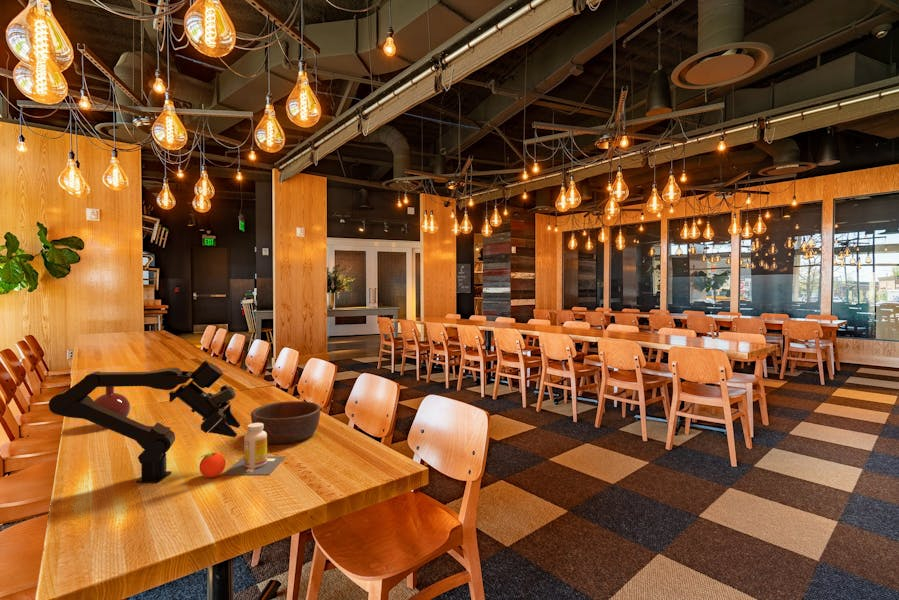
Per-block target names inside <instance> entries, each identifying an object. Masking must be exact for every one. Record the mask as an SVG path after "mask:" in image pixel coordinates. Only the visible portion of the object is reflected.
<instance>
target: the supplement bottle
mask: <svg viewBox="0 0 899 600" xmlns="http://www.w3.org/2000/svg"><path fill="white" fill-rule="evenodd" d="M263 428H264V424H263V423H252V422H251V423H250V424H247V429H246V430H247V432H246V433H245V435H244V436H243V438H244V439H243V446H244V447H243V452H244V453H243V456H244V465H245V467H247V468H258V467H261V466H264V465H265V464H266V463H267V456H268V443H267V433H266V432H265V431H263Z"/></svg>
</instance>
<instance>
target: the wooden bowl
mask: <svg viewBox="0 0 899 600" xmlns="http://www.w3.org/2000/svg"><path fill="white" fill-rule="evenodd" d="M321 410H322V409H321V406H320V405H319V404H318V403H315V402H311V401H310V402H309V401H305V400H303V401H301V400H300V401H299V400H293V401H291V400H289V401H279V402H278V401H277V402H273V403H268V404H265V405H261V406H258V407H257V408H255V409H253V410H252V411H251V412H250V420H251V424H252V423H263V424H264V428H263V431H265V432H266V433H267V445H269V444H270V445H287V444H293V443H295V444H296V443H299V442H301V441H304V440H307V439H309V438H311V437H312V436H313V435H314V434H315V432H316V431H317V429H318V425H319V423H320V417H321V412H322V411H321ZM310 436H311V437H310Z"/></svg>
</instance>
